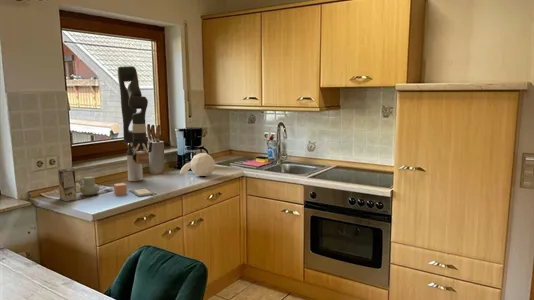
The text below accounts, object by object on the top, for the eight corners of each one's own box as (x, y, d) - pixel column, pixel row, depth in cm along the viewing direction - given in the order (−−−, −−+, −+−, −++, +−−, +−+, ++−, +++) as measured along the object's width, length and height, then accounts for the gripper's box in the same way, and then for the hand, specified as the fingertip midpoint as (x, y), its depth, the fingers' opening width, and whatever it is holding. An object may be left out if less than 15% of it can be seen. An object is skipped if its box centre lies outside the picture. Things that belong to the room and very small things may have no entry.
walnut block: (132, 161, 236) (132, 151, 235) (142, 160, 239) (142, 150, 238) (138, 164, 228) (138, 153, 227) (149, 163, 232) (148, 152, 231)
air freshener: (101, 194, 232) (100, 177, 230) (86, 197, 226) (85, 180, 225) (93, 191, 240) (92, 174, 238) (79, 193, 234) (78, 177, 232)
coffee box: (77, 199, 223) (75, 170, 220) (65, 201, 218) (62, 172, 216) (71, 196, 229) (69, 168, 227) (59, 198, 225) (57, 169, 222)
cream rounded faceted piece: (211, 149, 273) (192, 145, 295) (187, 171, 264) (169, 165, 286) (223, 167, 281) (204, 161, 303) (200, 189, 272) (182, 182, 294)
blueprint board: (129, 191, 240) (129, 189, 240) (146, 188, 246) (146, 187, 246) (138, 197, 227) (138, 195, 227) (156, 194, 232) (156, 193, 232)
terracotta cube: (114, 193, 236) (113, 184, 235) (124, 191, 239) (123, 182, 238) (117, 195, 231) (116, 186, 230) (126, 193, 234) (126, 184, 234)
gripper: (149, 130, 238) (150, 158, 241) (124, 131, 230) (126, 160, 232) (153, 131, 232) (155, 160, 234) (128, 132, 224) (130, 162, 226)
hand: (140, 160), depth 233 cm, fingers closed on walnut block, 6 cm apart
